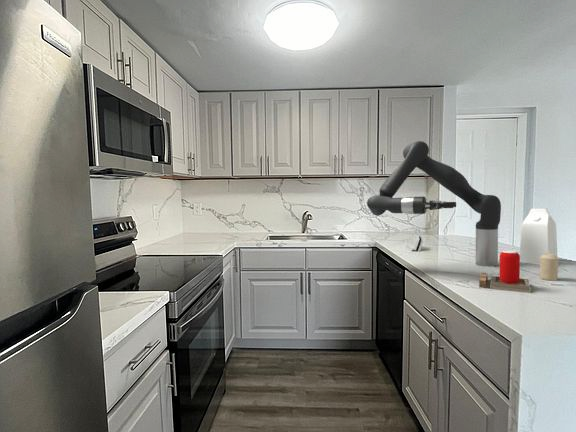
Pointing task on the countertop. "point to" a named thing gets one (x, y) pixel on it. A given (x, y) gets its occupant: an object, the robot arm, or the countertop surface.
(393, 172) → the robot arm
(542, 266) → the candle
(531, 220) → the milk
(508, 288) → the tray
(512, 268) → the beverage can
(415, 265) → the countertop surface
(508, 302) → the countertop surface
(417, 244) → the hinge
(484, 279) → the sill
